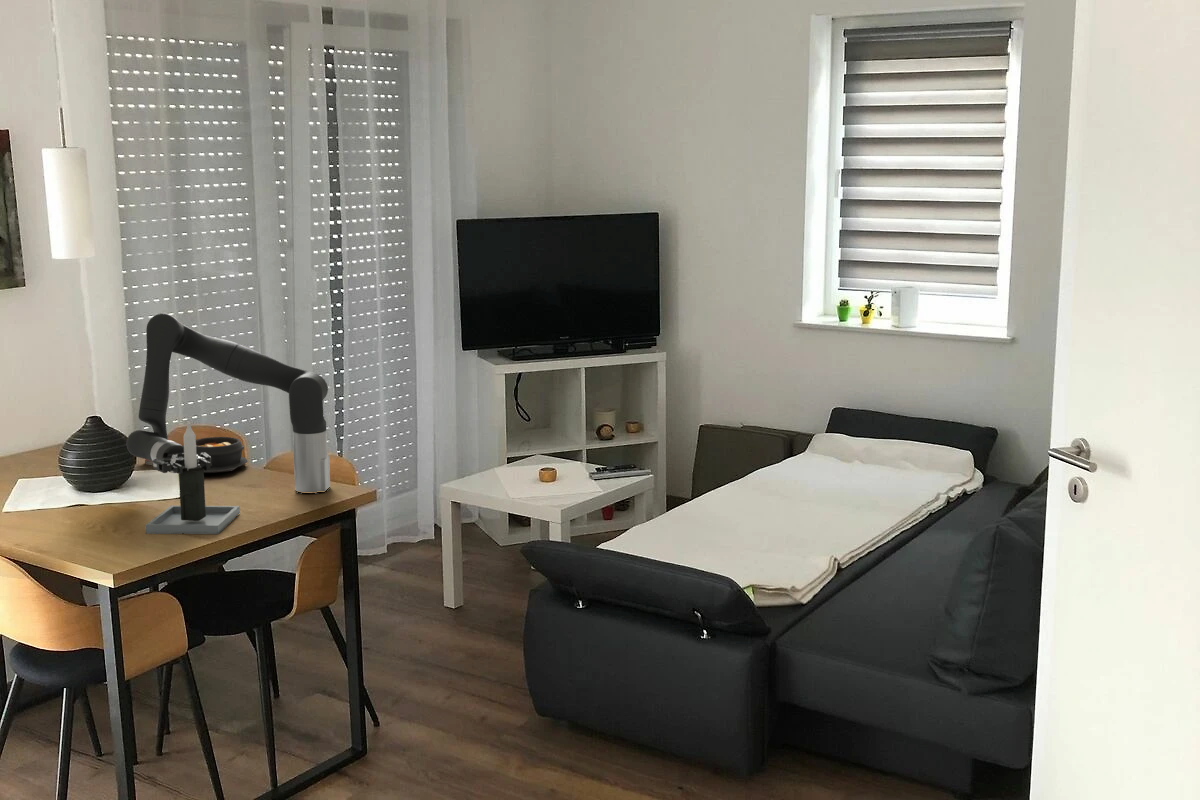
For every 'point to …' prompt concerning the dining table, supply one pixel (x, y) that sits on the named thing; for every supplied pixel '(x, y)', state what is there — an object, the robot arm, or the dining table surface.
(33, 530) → the dining table surface
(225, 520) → the tray
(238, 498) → the dining table surface
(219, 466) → the casserole
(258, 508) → the dining table surface
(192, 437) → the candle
